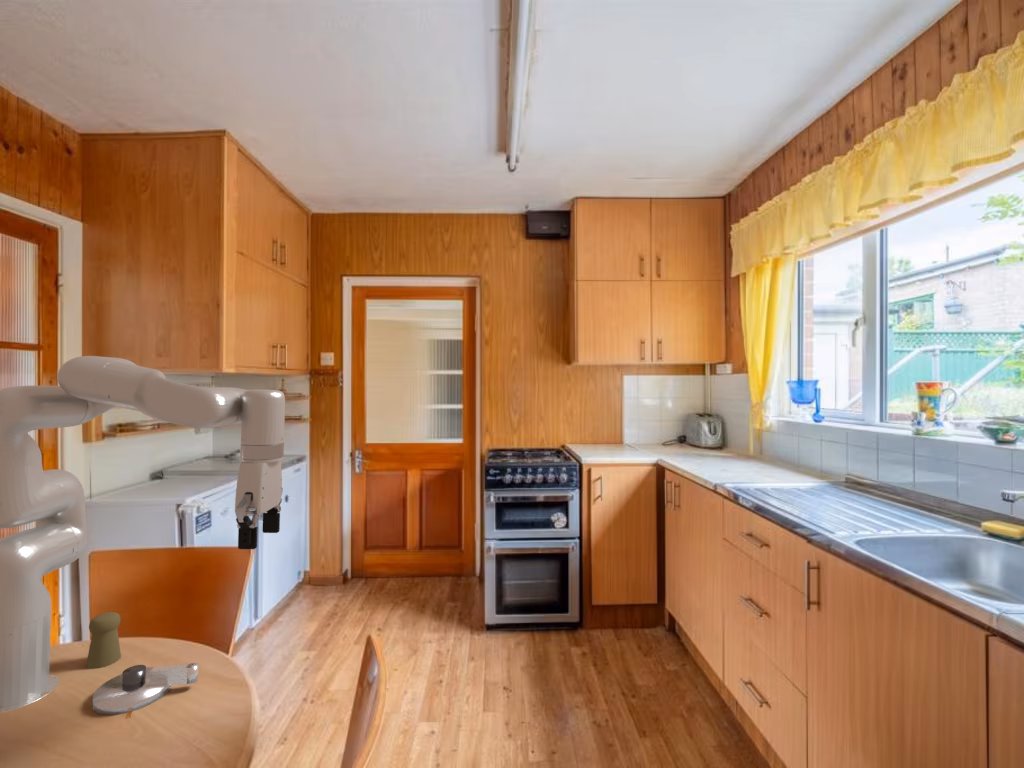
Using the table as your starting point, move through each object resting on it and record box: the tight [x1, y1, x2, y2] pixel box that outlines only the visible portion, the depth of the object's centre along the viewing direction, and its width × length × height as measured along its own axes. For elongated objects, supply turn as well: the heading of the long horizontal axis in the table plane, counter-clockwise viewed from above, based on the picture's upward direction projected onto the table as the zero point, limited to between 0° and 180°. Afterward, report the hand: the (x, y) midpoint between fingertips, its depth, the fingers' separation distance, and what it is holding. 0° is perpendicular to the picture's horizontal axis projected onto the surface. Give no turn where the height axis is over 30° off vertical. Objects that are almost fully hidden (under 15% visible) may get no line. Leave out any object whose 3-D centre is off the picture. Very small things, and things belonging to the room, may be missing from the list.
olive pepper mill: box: [86, 611, 122, 670], centre depth 104 cm, size 6×6×11 cm
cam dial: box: [92, 662, 199, 716], centre depth 94 cm, size 17×12×4 cm
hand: (259, 540), depth 94 cm, fingers open, 9 cm apart
